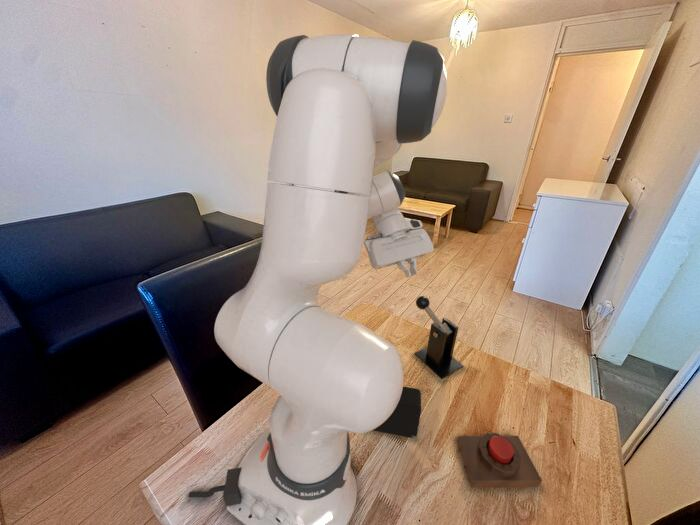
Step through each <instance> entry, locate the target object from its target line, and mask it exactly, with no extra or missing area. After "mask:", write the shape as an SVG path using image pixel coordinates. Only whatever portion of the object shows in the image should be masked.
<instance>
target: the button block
mask: <svg viewBox="0 0 700 525" xmlns="http://www.w3.org/2000/svg"><path fill="white" fill-rule="evenodd" d="M494 436H500V437H502V438H504V439H506V440H507V441H508V442H509V443H510V444H511V445H512V447H513V450H514V454H513V457H512V459H511V461H510V462H509V463H507V464H502V463H499V462H497V461H496V460H494V459H493V458H492V457H491V455H490V454H489V452H488V444H489V441H490V439H491V438H492V437H494ZM457 443H458V447H459V449H460V452H461V456H462V459H463V461H464V464H465V465H464V468H465V471H466V475H467V477H468V480H469V481H468V482H469V484H470V487H471V488H472V489H475V488H477V489H478V488H479V489H481V488H482V489H484V488H486V489H487V488H495V489H496V488H539V487H540V485H541V484H542V482H543V480H542V478H541V476H540V474H539V472H538V470H537V469H536V466H535V465H534V463H533V461H532V459H531V458H530V455H529V454H528V452H527V449H526V448H525V447H524V444H523V443H522V441H521V438H520V436H519V435H502V434H499V433H498V432H486V433H484V434H483V435H458V436H457Z"/></svg>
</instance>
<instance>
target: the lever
mask: <svg viewBox="0 0 700 525" xmlns="http://www.w3.org/2000/svg"><path fill="white" fill-rule="evenodd" d="M430 303H431V302H430V299H429V298H428V297H427V296H425V295H419V296H418V297H417V298H416V300H415V305H416V307H417V308H418V309H419V310H424V312H426V314H427V315H428V316H429V318H430V319H431V320H432V323H435V324H437V325H438V326H439V327H441V328H442V329H443V330H445V331H446V332H447V336H446V337H448V336H449V335H450V334H451V333H452V331H451V329H450V328H449V327H448V325H447V324H446V323H444V324H442V321H441V320H440V319H439V318H438V316H437V315H436V314H435V312H434V311H433V310H432V308H431V307H430Z"/></svg>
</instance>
